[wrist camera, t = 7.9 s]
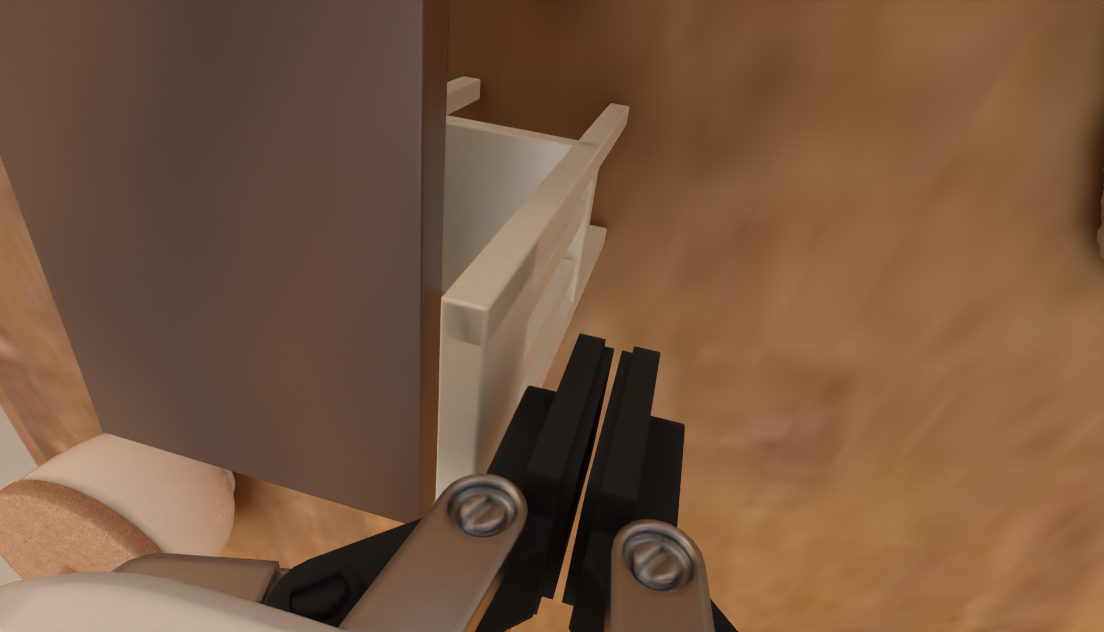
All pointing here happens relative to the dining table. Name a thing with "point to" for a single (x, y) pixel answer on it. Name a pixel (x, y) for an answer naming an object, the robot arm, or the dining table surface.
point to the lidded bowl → (113, 509)
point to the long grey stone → (1101, 229)
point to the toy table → (244, 226)
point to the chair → (508, 268)
